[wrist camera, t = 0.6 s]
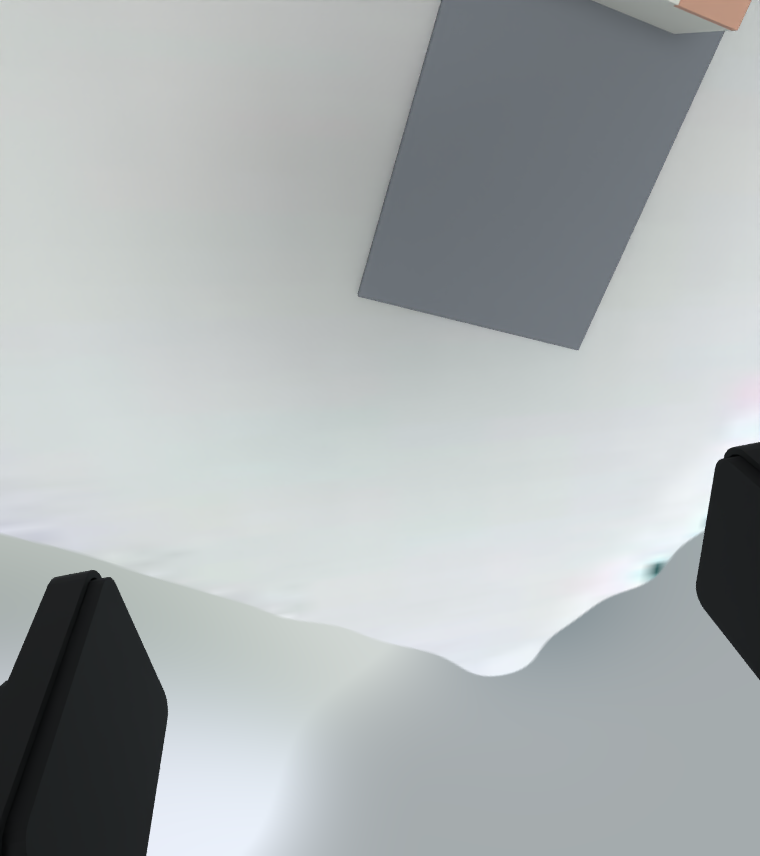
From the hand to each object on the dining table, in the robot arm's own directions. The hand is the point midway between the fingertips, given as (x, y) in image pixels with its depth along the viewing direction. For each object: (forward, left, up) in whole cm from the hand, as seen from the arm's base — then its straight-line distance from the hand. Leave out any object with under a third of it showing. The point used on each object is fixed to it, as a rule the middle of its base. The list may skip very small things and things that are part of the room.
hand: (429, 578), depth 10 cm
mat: (-8, +10, -28) cm, 31 cm away
